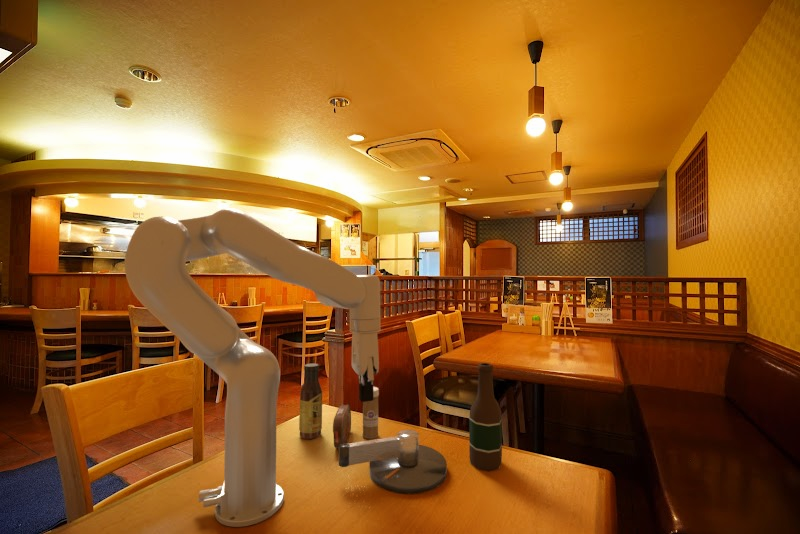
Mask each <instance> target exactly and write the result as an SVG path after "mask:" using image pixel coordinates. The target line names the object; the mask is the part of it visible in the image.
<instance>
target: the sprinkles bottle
mask: <svg viewBox="0 0 800 534" xmlns="http://www.w3.org/2000/svg"><path fill="white" fill-rule="evenodd" d="M379 395H380V389H379V387H377V386H373V400H372V401H366V402H362V437H363V439H365V440H375V439H378V436H379Z"/></svg>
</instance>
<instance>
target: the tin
mask: <svg viewBox="0 0 800 534" xmlns="http://www.w3.org/2000/svg"><path fill="white" fill-rule="evenodd" d="M351 430H352V411H351V406H350V404H342V405H339V407H338V408H337V411H336V413H335V415H334V417H333V422H332V432H333V445H334V446H333V447H334V448H335V449H339V445H340V444H343V443H347V444H348V442H349V438H350V436H351Z"/></svg>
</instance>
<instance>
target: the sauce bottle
mask: <svg viewBox="0 0 800 534" xmlns="http://www.w3.org/2000/svg"><path fill="white" fill-rule="evenodd" d="M303 369H304V383H303V384H302V385H301V387H300V391H299V395H300V396H299V397H300V398H299V419H298V421H299V422H298V427H299V430H298V431H299V437H300V438H301V439H303V440H312V439H316V438H319V437H320V436H321V434H322V429H323V390H322V386H321V384H320V381H319V370H320V365H319V364H318V363H306V364H305V365H304V368H303Z"/></svg>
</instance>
